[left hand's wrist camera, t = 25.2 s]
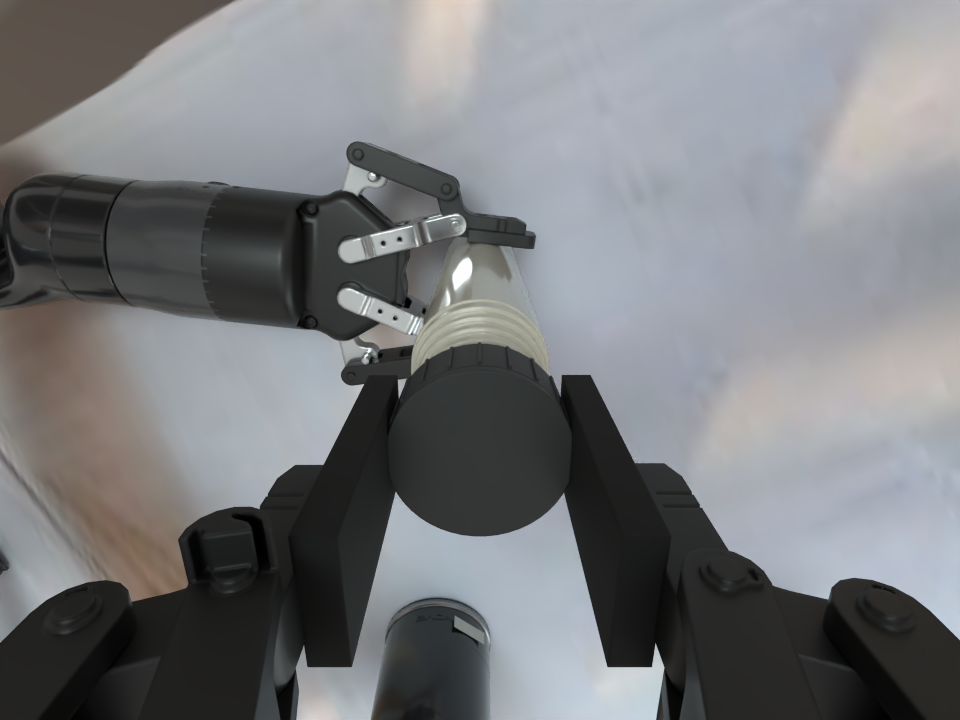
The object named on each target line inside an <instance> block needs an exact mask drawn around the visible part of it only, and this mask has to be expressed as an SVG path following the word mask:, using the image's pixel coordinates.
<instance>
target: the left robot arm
mask: <svg viewBox="0 0 960 720" xmlns="http://www.w3.org/2000/svg"><path fill="white" fill-rule="evenodd" d="M561 398H562V401H563V404H564V407H565V410H566V413H567V416H568V419H569V422H570V427H571V430H572V446H571V461H570V475H569V484H568V486H567V488H566V489H565V491H564V494H565V498H566V502H567V506H568V510H569V514H570V518H571V522H572V526H573V530H574V534H575V538H576V542H577V546H578V550H579V554H580V558H581V562H582V566H583V570H584V574H585V578H586V583H587V587H588V591H589V595H590V599H591V603H592V607H593V611H594V615H595V619H596V623H597V627H598V631H599V635H600V639H601V643H602V647H603V651H604V655H605V659H606V663H607V667H652V662H653V656H654V649H655V643H656V645H657V648H658V651H659V653H660V656H661V659H662V662H663V664H664V667H665V668H664V674H663V680H662V686H661V693H660V699H659V705H658V711H657V718H656V720H960V640H959V639H958V638H957V637H956V636H955V635H954V634H953V633H952V632H951V631H950V630H949V629H948V628H947V627H946V626H945V625H944V624H943V623H942V622H941V621H940V620H939V619H938V618H937V617H936V616H935V615H934V614H933V613H932V612H931V611H929V610H928V609H927V608H926V607H924V606H923V605H922V604H921V603H919V602H918V601H917V600H916V599H914V598H913V597H911V596H909V595H907V594H905V593H904V592H902V591H900V590H898V589H896V588H894V587H892V586H889V585H886V584H883V583H880V582H877V581H873V580H867V579H859V578H851V579H845V580H840V581H839V582H838V583H836V584H835V585H834V586H833V587H832V589H831V592H830V596H829V599H828V600H827V599H823V598H818V597H814V596H810V595H805V594H801V593H796V592H792V591H788V590H785V589H781V588H778V587H775V586H773V585H772V583H771V581H770V580H769V578H768V577H767V575H766V574H765V572H764V571H763V570H762V569H761V568H759V567H758V566H757V565H756V564H755V563H753V562H752V561H751V560H749V559H747V558H745V557H743V556H741V555H739V554H737V553H735V552H731V551H729V550H728V549H727V547H726V546H725V544H724V542H723V541H722V539H721V538H720V536H719V534H718V533H717V531H716V530H715V528H714V527H713V525H712V523H711V522H710V520H709V519H708V517H707V515H706V514H705V512H704V511H703V509H702V508H700V504H699V503H698V501H697V500H696V498H695V496H694V495H692V492H691V490H690V488H689V487H688V485H687V484H686V482H685V481H684V479H683V477H682V476H681V475H679V474H678V473H677V472H675V471H674V470H672V469H671V468H670V467H668V466H667V465H666V464H664V463H634V461H633V459H632V457H631V455H630V453H629V451H628V449H627V447H626V445H625V443H624V441H623V439H622V437H621V435H620V433H619V431H618V429H617V427H616V425H615V423H614V421H613V419H612V417H611V415H610V413H609V411H608V409H607V407H606V405H605V403H604V401H603V399H602V397H601V395H600V393H599V391H598V389H597V387H596V385H595V383H594V381H593V379H592V377H591V375H562V383H561ZM398 399H399V395H398V377H397V375H369V376H368V378H367V380H366V382H365V384H364V386H363V388H362V390H361V392H360V394H359V396H358V398H357V400H356V402H355V404H354V406H353V408H352V410H351V412H350V414H349V416H348V418H347V420H346V422H345V424H344V426H343V428H342V430H341V432H340V434H339V436H338V438H337V440H336V442H335V444H334V446H333V448H332V449H331V451H330V453H329V455H328V457H327V459H326V461H325V463H324V465H295V466H293V467H292V468H291V469H289V470H288V471H287V472H285V473H284V474H283V475H281V476H280V477H279V478H277V480H276V482H275V483H274V485H273V486H272V488H271V490H270V491H269V493H268V497H266V498H265V499H264V501H263V502H262V504H261V506H260V509H257V508H253V507H233V508H228V509H224V510H219V511H216V512H214V513H211V514H209V515H207V516H204V517H202V518H200V519H199V520H197V521H196V522H194V523H193V524H192V525H190V526H189V527H187V528H186V530H185V531H184V532H183V534H182V535H181V536H180V538H179V539H178V541H179V545H180V550H181V554H182V558H183V562H184V566H185V571H186V575H187V579H188V583H189V584H188V587H187V588H185V589H182V590H179V591H176V592H172V593H169V594H164V595H160V596H156V597H151V598H147V599H143V600H138V601H134V602H131V598H130V595H129V592H128V590H127V589H126V588H125V587H124V586H123V585H122V584H121V583H118V582H113V581H107V580H104V581H96V582H88V583H85V584H82V585H79V586H75V587H72V588H69V589H67V590H65V591H63V592H61V593H59V594H57V595H55V596H54V597H52V598H50V599H48V600H46V601H45V602H44V603H43V604H41V605H40V606H39V607H38V608H36V609H35V610H34V611H32V612H31V613H30V614H29V615H28V616H27V617H26V618H25V619H24V620H23V621H22V622H21V623H20V624H19V625H18V626H17V627H16V628H15V629H14V630H13V631H12V632H11V633H10V634H9V635H8V636H7V637H6V638H5V639H4V640H3V641H2V642H1V643H0V720H296V716H297V705H298V695H299V688H298V681H297V674H296V665H297V663H298V660H299V657H300V654H301V651H302V649H303V646H304V647H305V653H306V660H307V667H352V664H353V660H354V656H355V652H356V648H357V644H358V640H359V636H360V632H361V628H362V624H363V620H364V616H365V612H366V608H367V604H368V600H369V596H370V592H371V588H372V584H373V580H374V576H375V572H376V568H377V564H378V560H379V556H380V552H381V548H382V544H383V540H384V536H385V532H386V528H387V524H388V520H389V516H390V512H391V508H392V504H393V500H394V496H395V492H396V490H395V489H394V487H393V485H392V483H391V480H390V470H389V456H388V440H387V435H388V431H389V428H390V421H391V418H392V415H393V412H394V409H395V406H396V403H397V400H398Z"/></svg>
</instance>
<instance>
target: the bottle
mask: <svg viewBox="0 0 960 720" xmlns="http://www.w3.org/2000/svg"><path fill="white" fill-rule="evenodd" d="M478 342H481V344H493V345H499V346H503V347H506V346H509V348H510V349H513V350H515V351H518V352H520V353H522V354H524V355H525V356H527V357H529V358H530V359H531V358H533V359H534V361H535V362H536V363H537V364H538V365H539V366H540V367H541V368H542V369H543V370H544V371H545V372H546V373H547V374H548V375H549V355H548V349H547V346H546V343H545V340H544V337H543V334H542V331H541V328H540V325H539V323H538V320H537V317H536V314H535V311H534V308H533V306H532V303H531V300H530V297H529V294H528V291H527V288H526V286H525V283H524V280H523V277H522V274H521V271H520V269H519V266H518V263H517V260H516V257H515V254H514V252H513V249H512V247H507V246H498V245H489V244H481V243H471V242H467V238H466V237H457V236H456V237H455V238H454V239H453V240H452V242H451V243H450V245H449V247H448V249H447V252H446V255H445V258H444V261H443V264H442V267H441V269H440V272H439V275H438V278H437V281H436V284H435V287H434V289H433V292H432V295H431V298H430V301H429V304H428V306H427V309H426V312H425V315H424V318H423V321H422V324H421V326H420V329H419V332H418V335H417V338H416V341H415V344H414V347H413V351H412V358H411V376H412V374H413V373H414V372H415V371H416V370H417V369H418V368H419V367H420V366H421V365H422V364H423V363H425V360H426V359H427V358H428V359H430V358H431V357H433V356H435V355H437V354H439V353H440V352H443V351H445V350H448V349H450V347H452V346H453V347H457V346H461V345H467V344H478Z"/></svg>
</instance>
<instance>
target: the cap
mask: <svg viewBox="0 0 960 720" xmlns="http://www.w3.org/2000/svg"><path fill="white" fill-rule="evenodd" d="M387 440H388V456H389V470H390V480H391V483H392V485H393V487H394V489H395V490H396V492H397V494H398V495H399V497H400V498H401V499H402V501H403V502H404V503H405V504H406V505H407V506H408V508H409V509H410V510H411V511H413V512H414V513H415V514H416V515H417V516H419V517H420V518H421V519H423V520H425V521H426V522H428V523H429V524H431V525H434V526H436V527H438V528H440V529H443V530H446V531H448V532H452V533H456V534H460V535H468V536H493V535H500V534H504V533H509V532H512V531H515V530H518V529H520V528H523V527H525V526H527V525H529V524H531V523H532V522H534V521H536V520H537V519H539V518H540V517H542V516H543V515H544V514H545V513H547V512H548V511H549V510H550V509H551V508H552V507H553V506H554V505H555V504H556V503H557V501H558V500H559V499H560V497H561V496H562V495H563V493H564V491H565V489H566V488H567V486H568V484H569V475H570V461H571V446H572V430H571V427H570V422H569V419H568V416H567V413H566V410H565V407H564V404H563V401H562V398H561V397H560V395H559V392H558V390H557V388H556V386H555V383H554V380H553V377H552V376H550V377H549V375H548V374H547V373H546V372H545V371H544V370H543V369H542V368H541V367H540V366H539V365H538V364H537V363H536V362H535V361H534V359H533V358H531V359H530V358H529V357H527V356H525V355H524V354H522V353H520V352H518V351H515V350H513V349H510V348H509V346H506V347H503V346H499V345H493V344H481V342H478V344H467V345H461V346H457V347H453V346H452V347H450V349H448V350H445V351H443V352H440V353H439V354H437V355H435V356H433V357H431V358H430V359H428V358H427V359H426V360H425V363H423V364H422V365H421V366H420V367H419V368H418V369H417V370H416V371H415V372H414V373H413V374H412V376H411V377H409V376H408V378H407V380H406V383H405V386H404V388H403V391H402V393H401V395H400V398H399V399H398V400H397V403H396V406H395V409H394V412H393V415H392V418H391V421H390V428H389V431H388V435H387Z"/></svg>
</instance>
